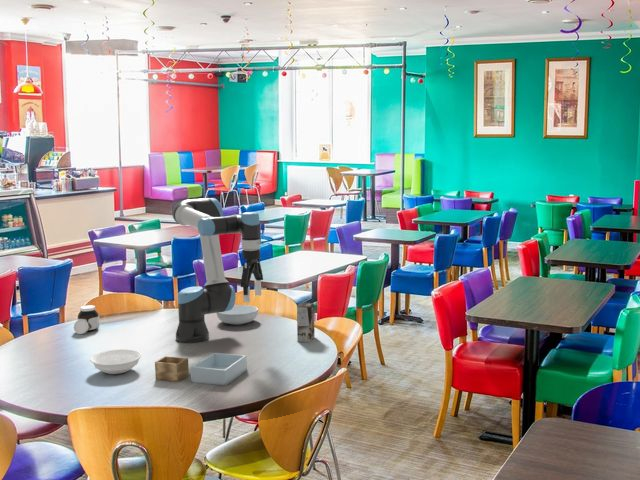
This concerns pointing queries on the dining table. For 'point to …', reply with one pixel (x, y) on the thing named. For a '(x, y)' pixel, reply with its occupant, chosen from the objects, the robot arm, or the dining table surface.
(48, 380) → the dining table surface
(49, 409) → the dining table surface
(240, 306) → the serving bowl
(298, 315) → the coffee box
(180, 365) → the wooden crate
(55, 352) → the dining table surface
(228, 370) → the plastic tote
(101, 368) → the bowl
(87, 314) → the spread jar
